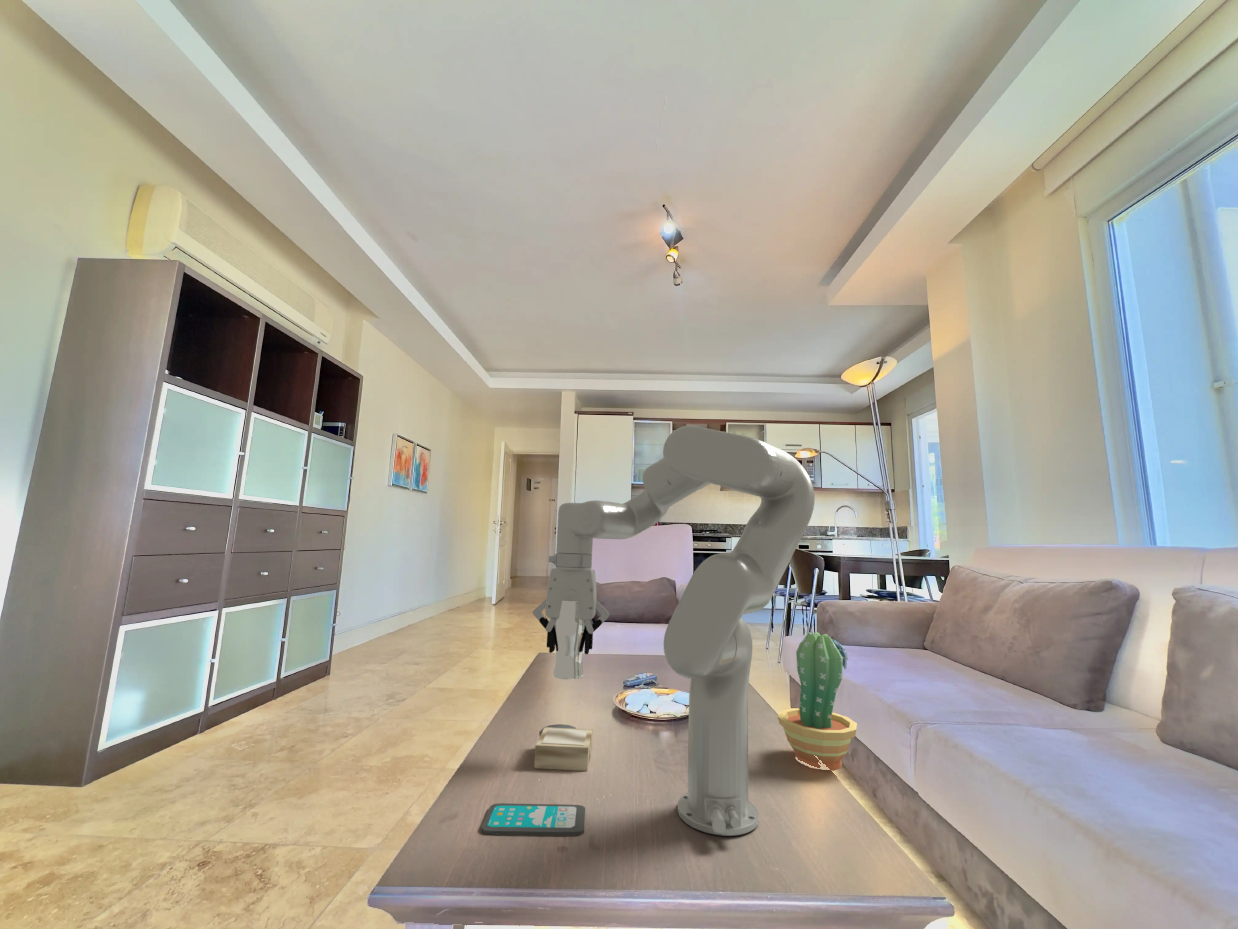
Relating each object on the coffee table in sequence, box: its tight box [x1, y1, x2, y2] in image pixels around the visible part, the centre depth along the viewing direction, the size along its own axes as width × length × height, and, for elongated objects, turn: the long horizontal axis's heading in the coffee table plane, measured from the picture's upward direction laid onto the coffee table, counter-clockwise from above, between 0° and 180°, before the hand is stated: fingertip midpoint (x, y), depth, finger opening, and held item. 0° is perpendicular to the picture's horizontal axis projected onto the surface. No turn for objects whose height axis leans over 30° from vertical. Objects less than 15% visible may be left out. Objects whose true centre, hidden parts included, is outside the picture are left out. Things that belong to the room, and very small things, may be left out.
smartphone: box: [480, 802, 586, 837], centre depth 79 cm, size 9×1×15 cm
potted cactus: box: [777, 631, 858, 772], centre depth 107 cm, size 15×15×25 cm
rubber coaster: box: [541, 723, 577, 734], centre depth 115 cm, size 8×8×1 cm
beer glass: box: [552, 600, 587, 680], centre depth 105 cm, size 7×7×15 cm
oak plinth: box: [534, 726, 594, 772], centre depth 102 cm, size 10×10×4 cm
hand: (569, 651), depth 105 cm, fingers closed on beer glass, 6 cm apart
